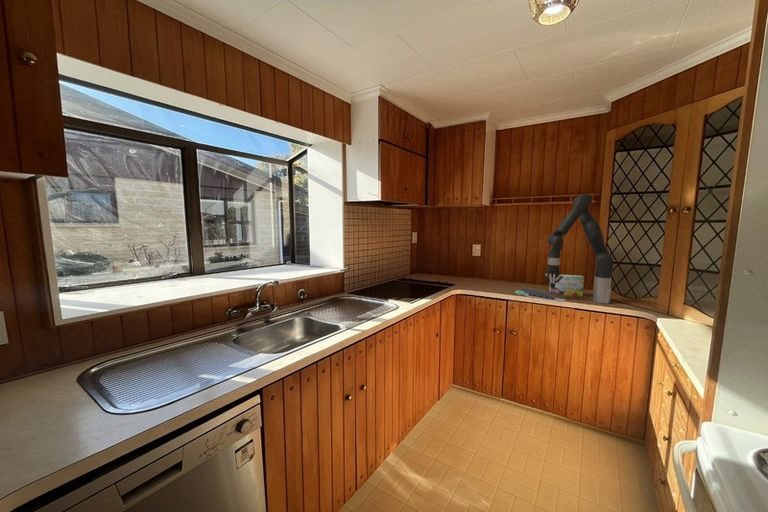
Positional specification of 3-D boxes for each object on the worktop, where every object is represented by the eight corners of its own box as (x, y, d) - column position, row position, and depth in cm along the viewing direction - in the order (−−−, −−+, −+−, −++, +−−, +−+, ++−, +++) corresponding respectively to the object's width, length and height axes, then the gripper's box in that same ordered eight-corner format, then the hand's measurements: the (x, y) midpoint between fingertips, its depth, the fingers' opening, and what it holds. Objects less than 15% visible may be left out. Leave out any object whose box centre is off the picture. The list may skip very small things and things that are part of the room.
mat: (566, 299, 213) (566, 299, 213) (562, 302, 206) (562, 302, 206) (528, 293, 232) (528, 293, 232) (523, 296, 225) (523, 295, 225)
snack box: (550, 294, 228) (551, 275, 226) (549, 293, 234) (550, 273, 232) (582, 296, 222) (584, 276, 220) (580, 294, 227) (581, 275, 226)
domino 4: (548, 295, 219) (535, 288, 225) (546, 296, 216) (533, 289, 222) (547, 297, 220) (534, 289, 226) (545, 298, 216) (532, 290, 222)
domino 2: (536, 293, 225) (524, 286, 231) (534, 294, 221) (521, 287, 227) (535, 295, 226) (523, 288, 232) (533, 296, 222) (520, 289, 228)
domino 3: (542, 294, 222) (530, 287, 228) (540, 295, 219) (527, 288, 225) (541, 296, 223) (529, 288, 229) (539, 297, 219) (526, 290, 225)
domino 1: (531, 292, 228) (517, 290, 235) (528, 293, 224) (514, 291, 232) (530, 294, 228) (517, 292, 235) (528, 295, 225) (514, 293, 232)
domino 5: (554, 296, 216) (541, 288, 222) (552, 297, 213) (539, 290, 219) (553, 298, 217) (540, 290, 223) (551, 299, 213) (537, 291, 219)
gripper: (566, 264, 210) (564, 288, 212) (545, 262, 220) (544, 286, 222) (562, 265, 205) (561, 290, 207) (541, 263, 215) (540, 287, 217)
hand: (552, 288), depth 215 cm, fingers closed
